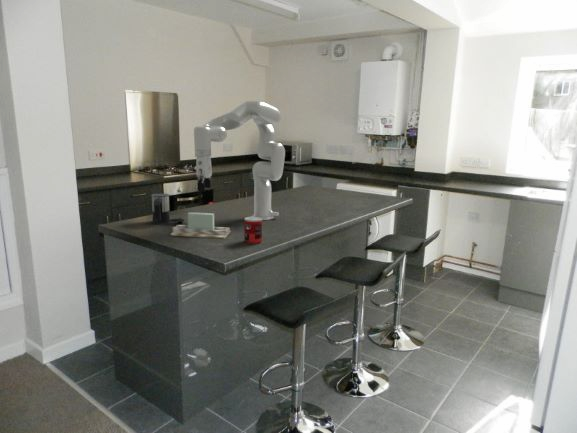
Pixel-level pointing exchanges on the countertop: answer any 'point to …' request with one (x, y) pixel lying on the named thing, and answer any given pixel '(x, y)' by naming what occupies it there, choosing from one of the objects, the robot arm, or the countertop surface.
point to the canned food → (252, 230)
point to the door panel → (201, 221)
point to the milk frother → (162, 209)
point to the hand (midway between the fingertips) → (204, 189)
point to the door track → (200, 232)
